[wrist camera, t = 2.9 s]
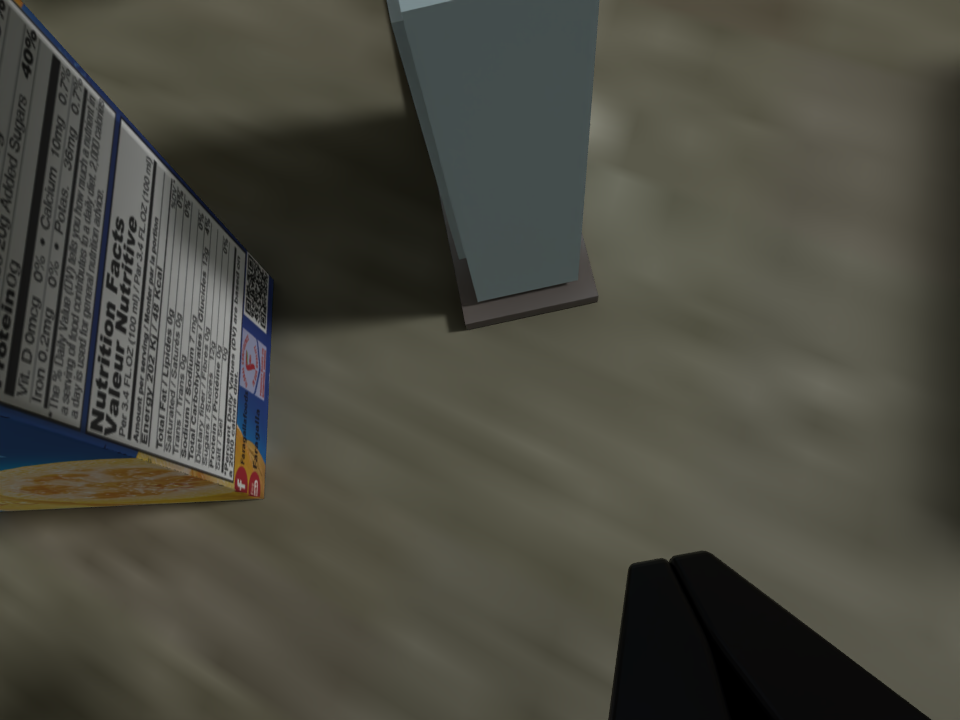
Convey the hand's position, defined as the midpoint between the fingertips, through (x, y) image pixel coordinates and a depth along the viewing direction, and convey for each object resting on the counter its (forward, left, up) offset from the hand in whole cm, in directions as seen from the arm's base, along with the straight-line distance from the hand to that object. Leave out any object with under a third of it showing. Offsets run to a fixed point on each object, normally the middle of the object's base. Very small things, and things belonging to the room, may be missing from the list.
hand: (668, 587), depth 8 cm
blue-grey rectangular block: (+11, +5, -13) cm, 18 cm away
